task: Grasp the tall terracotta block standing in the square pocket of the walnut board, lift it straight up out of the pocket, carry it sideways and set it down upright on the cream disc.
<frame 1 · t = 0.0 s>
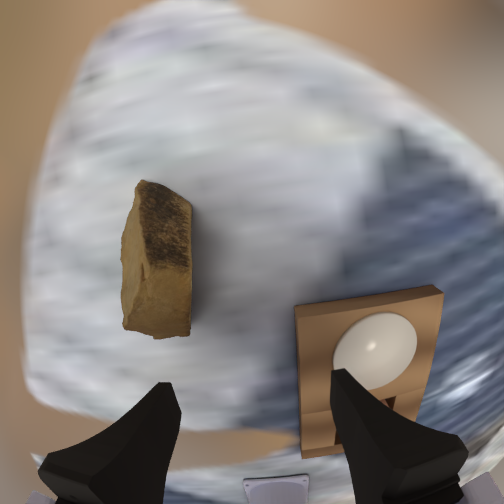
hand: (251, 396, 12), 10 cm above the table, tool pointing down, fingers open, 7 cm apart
walnut board: (363, 379, 24), on the table
cream disc: (375, 351, 21), resting on walnut board
rock: (166, 259, 21), on the table
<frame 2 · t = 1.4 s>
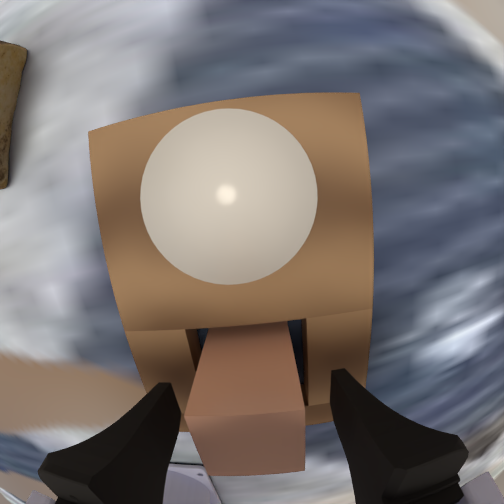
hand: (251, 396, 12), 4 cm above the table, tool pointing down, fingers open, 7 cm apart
walnut board: (243, 285, 15), on the table
terracotta block: (252, 351, 16), resting in walnut board
cream disc: (227, 196, 12), resting on walnut board
rock: (3, 113, 13), on the table
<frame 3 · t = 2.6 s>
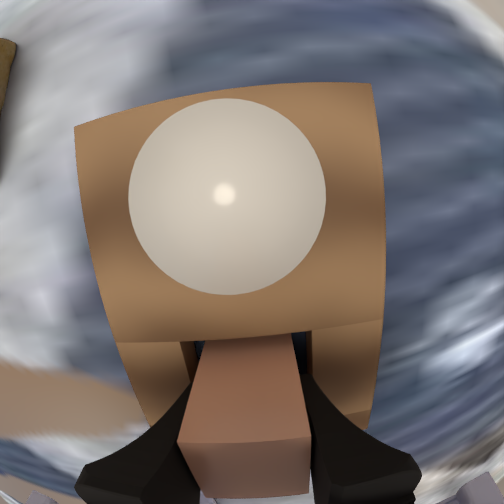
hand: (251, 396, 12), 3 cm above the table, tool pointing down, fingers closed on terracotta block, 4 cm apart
walnut board: (242, 292, 14), on the table
terracotta block: (252, 363, 15), resting in walnut board, touching gripper
cream disc: (225, 196, 11), resting on walnut board
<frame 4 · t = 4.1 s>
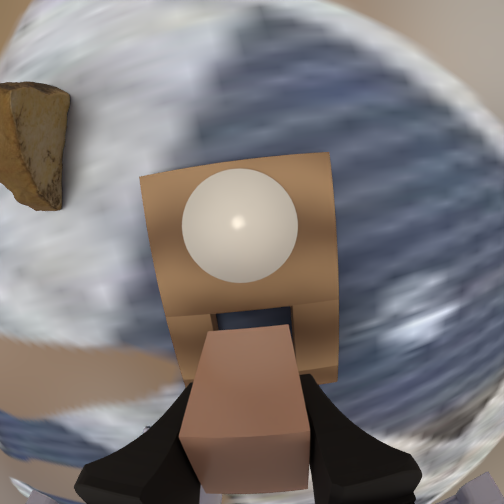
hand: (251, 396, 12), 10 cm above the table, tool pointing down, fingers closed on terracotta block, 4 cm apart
walnut board: (249, 283, 21), on the table
terracotta block: (252, 360, 15), point 7 cm above the table, touching gripper
cream disc: (239, 225, 18), resting on walnut board
rock: (51, 147, 19), on the table
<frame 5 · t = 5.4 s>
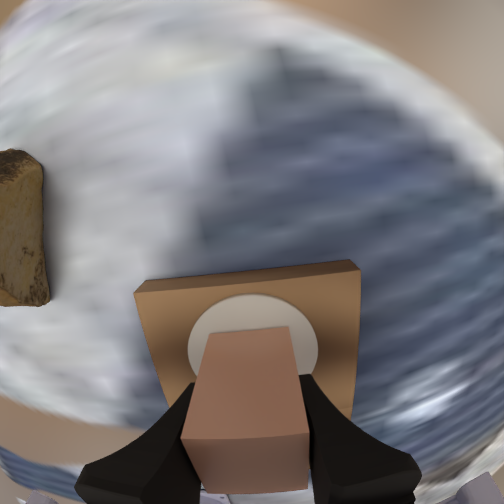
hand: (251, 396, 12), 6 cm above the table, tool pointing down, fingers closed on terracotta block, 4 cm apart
walnut board: (260, 387, 19), on the table
terracotta block: (253, 362, 15), point 3 cm above the table, touching gripper
cream disc: (252, 350, 16), resting on walnut board
rock: (29, 227, 16), on the table
when the fingers open (6 cm above the table, at t = 6.0 s): terracotta block stays where it is, resting on cream disc.
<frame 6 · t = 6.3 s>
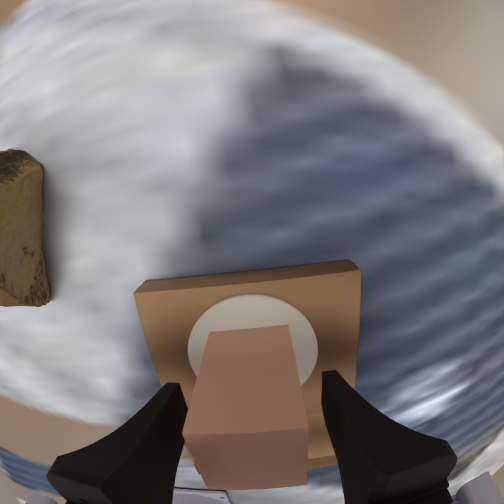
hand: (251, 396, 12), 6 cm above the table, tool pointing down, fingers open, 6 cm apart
walnut board: (260, 387, 19), on the table
terracotta block: (253, 360, 15), point 3 cm above the table, touching cream disc
cream disc: (252, 350, 16), resting on walnut board
rock: (29, 227, 16), on the table
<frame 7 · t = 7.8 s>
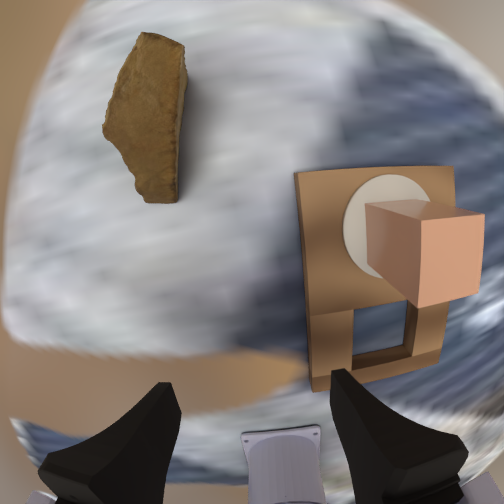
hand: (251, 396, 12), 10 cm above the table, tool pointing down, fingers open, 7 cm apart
walnut board: (379, 279, 21), on the table
terracotta block: (393, 231, 18), point 3 cm above the table, touching cream disc
cream disc: (389, 226, 18), resting on walnut board
rock: (158, 130, 19), on the table
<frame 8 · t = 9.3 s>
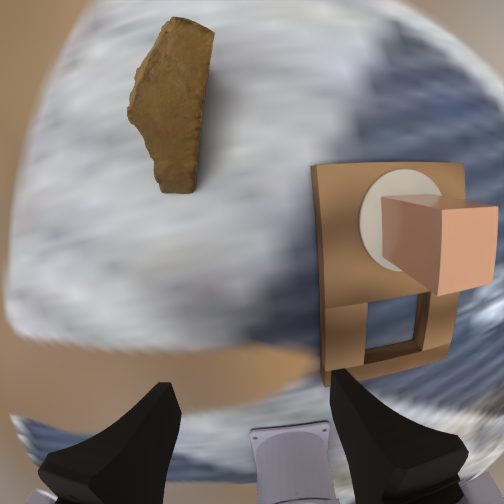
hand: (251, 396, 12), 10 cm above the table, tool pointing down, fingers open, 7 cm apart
walnut board: (391, 273, 21), on the table
terracotta block: (407, 224, 18), point 3 cm above the table, touching cream disc
cream disc: (403, 220, 18), resting on walnut board
rock: (175, 120, 19), on the table
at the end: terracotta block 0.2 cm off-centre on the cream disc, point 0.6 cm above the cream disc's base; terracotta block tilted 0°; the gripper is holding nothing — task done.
